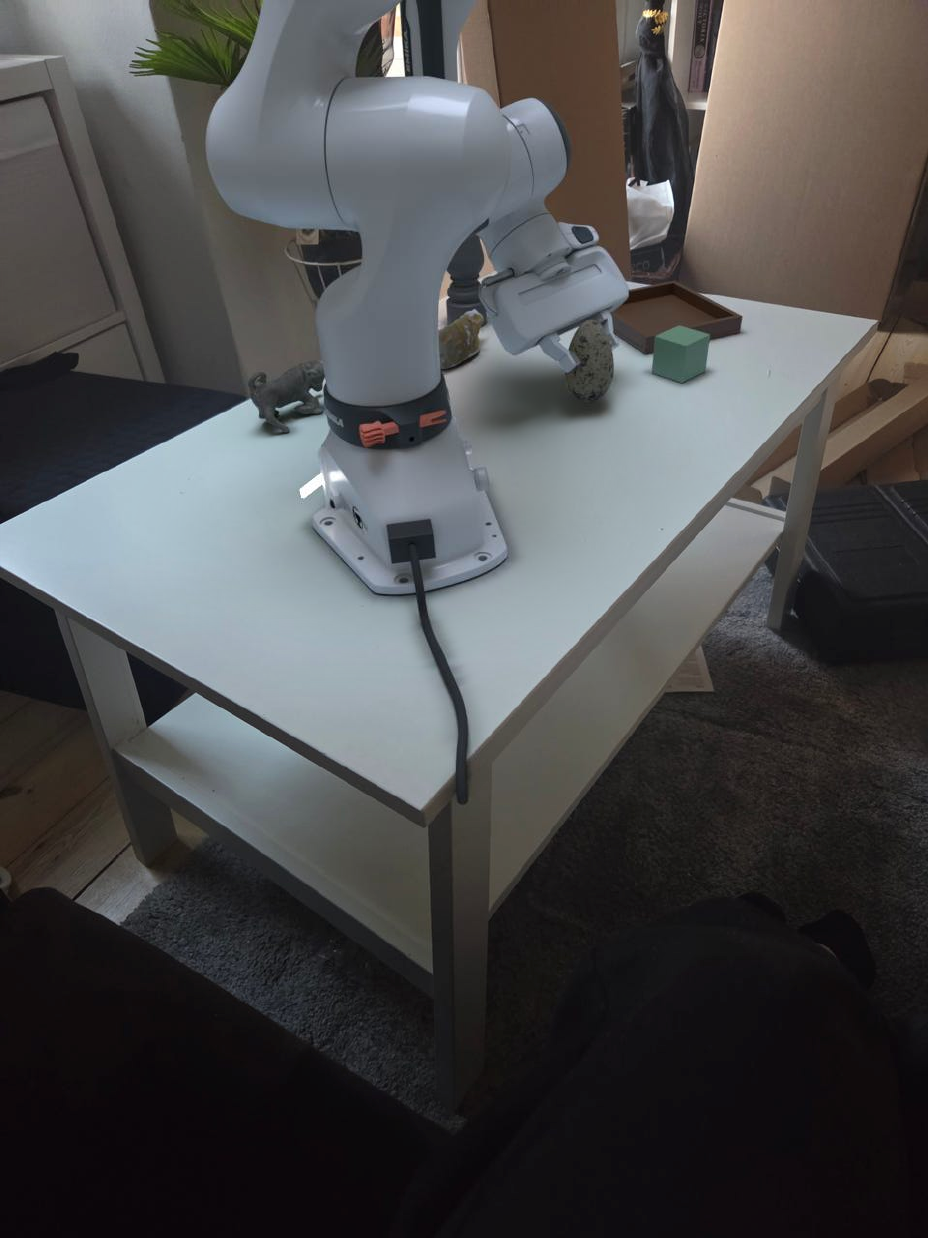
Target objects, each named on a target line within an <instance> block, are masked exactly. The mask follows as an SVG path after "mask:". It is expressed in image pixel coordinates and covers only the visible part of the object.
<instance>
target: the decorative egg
mask: <svg viewBox="0 0 928 1238" xmlns="http://www.w3.org/2000/svg"><path fill="white" fill-rule="evenodd" d="M567 350H569V351H570V352H571V351H574V350H575V352H576V353H577V356H578V358H580V360H581V364H580V365H579V366H578V367H577V368H576V369H574V370H572V371H570V372H568V373H566V372H565V371H564V370H563V371H564V372H563V373H564V382H565V385H566V387H567V390H568V391H569V393H570V394H571V395H572V396H573V397H574V398H575V399H577V400H579V401H581V402H585V403H590V402H595V401H597V400H599V399H601V398H602V397H604V396H605V395H606V393H607V392H608V391H609V389H610V387H611V385H612V382H613V378H614V373H615V370H614V369H615V362H614V354H613V351H612V349H611V345H610V341H609V338H608V336H607V333H606V331H605V330H604V328H603V327H602V325H601V324H600V323H599V322H597V321H595V320H587V321H585V322H583V323H582V324H581V325H580V326H579V327H577V328H576V331H575V332H574V334H573V337H572V339H571V341H570V343H569V345H568V348H567Z"/></svg>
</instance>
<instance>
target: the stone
mask: <svg viewBox="0 0 928 1238" xmlns="http://www.w3.org/2000/svg"><path fill="white" fill-rule="evenodd" d="M483 321H484V318H483V316H482V315H481V314H480V313H479V312H477V311H476V310H475V309H474V310H472V311H468V312H466V313H465V314H464V315H463V316H461V317H460V318H459V319H457V320H455V321H454V322H453V323H452V324H450V325H448V324H447V325H445V326H443V327H441V328H440V329H438V339H439V359H440V370H446V369H450V368H452V367H456V366H457V365H459V364H460V363H462V362H463V361H465V360H467V359H469V358H471V357H473V356H474V355H477V353H479V351H480V350H481V348H480V340H479V334H480V329H481V327H482V326H481V325H482V323H483Z"/></svg>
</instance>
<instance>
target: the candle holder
mask: <svg viewBox="0 0 928 1238" xmlns="http://www.w3.org/2000/svg"><path fill="white" fill-rule="evenodd" d="M484 266H485V253H484V249H483V245H482V240H481V239H480V238H479V237H478V236H477V235H476V234H475V235H474V236H472V237H471V238H469V239H468V240H466V241H464V242H463V243H462V244H461V245H460V247H459V248H458V250H457V251H456V252H455V254H454V256H453V257H452V259H451V261H450V263H449V265H448V268H447V270H446V273H447V274H449V279H450V280H451V283H450V284H449V286H448V288H447V289H446V296H447V297H448V298H447V299H446V300H445V305H446V319H447V321H446V323H447V326H448V325H450V324H452V323H453V322H454V321H455V320H457V319H459V318H460V317H461V316H463V315H464V314H465V313H466V312H468V311H472V310H474V309H475V310H476V311H477V312H479V313H480V314H481V315H482V316H483V318H484V321H483V323H482V325H481V327H483V326H485V325H486V324H488V314H487V311H486V308H485V306H484V305H483V303H482V302H481V300H480V298H479V295H478V293H479V286H480V285H481V281H480V280H479V278H480V277H481V276H480V273H481V271H482V269H483V267H484ZM483 288H484V287H483Z"/></svg>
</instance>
